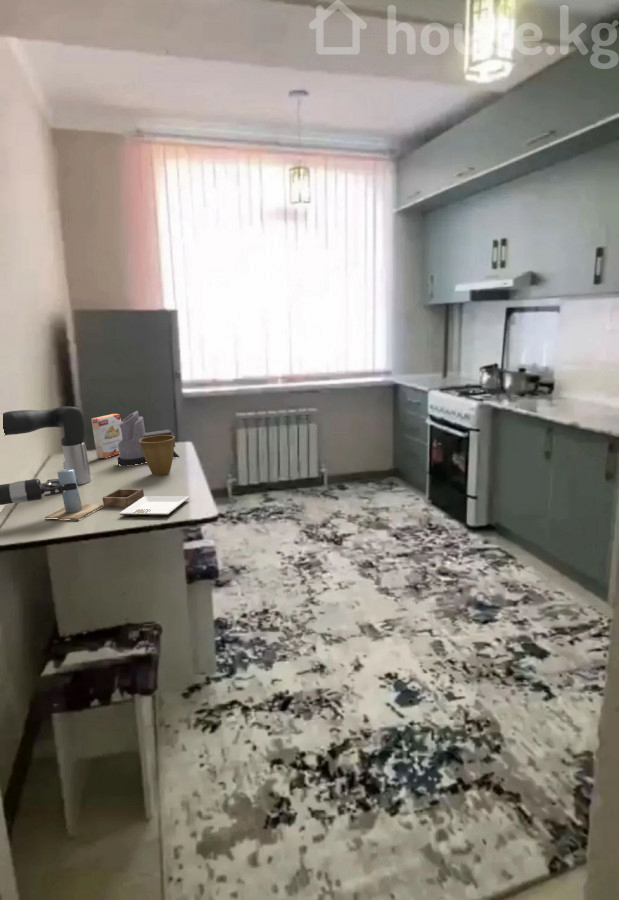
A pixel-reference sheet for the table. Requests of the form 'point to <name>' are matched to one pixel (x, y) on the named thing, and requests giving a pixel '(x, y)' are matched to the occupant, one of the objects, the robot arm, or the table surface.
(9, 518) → the table surface
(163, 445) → the plant pot
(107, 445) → the cracker box
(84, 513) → the wooden board
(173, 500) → the plate
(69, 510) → the cylinder
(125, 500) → the holder
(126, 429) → the grey boots
